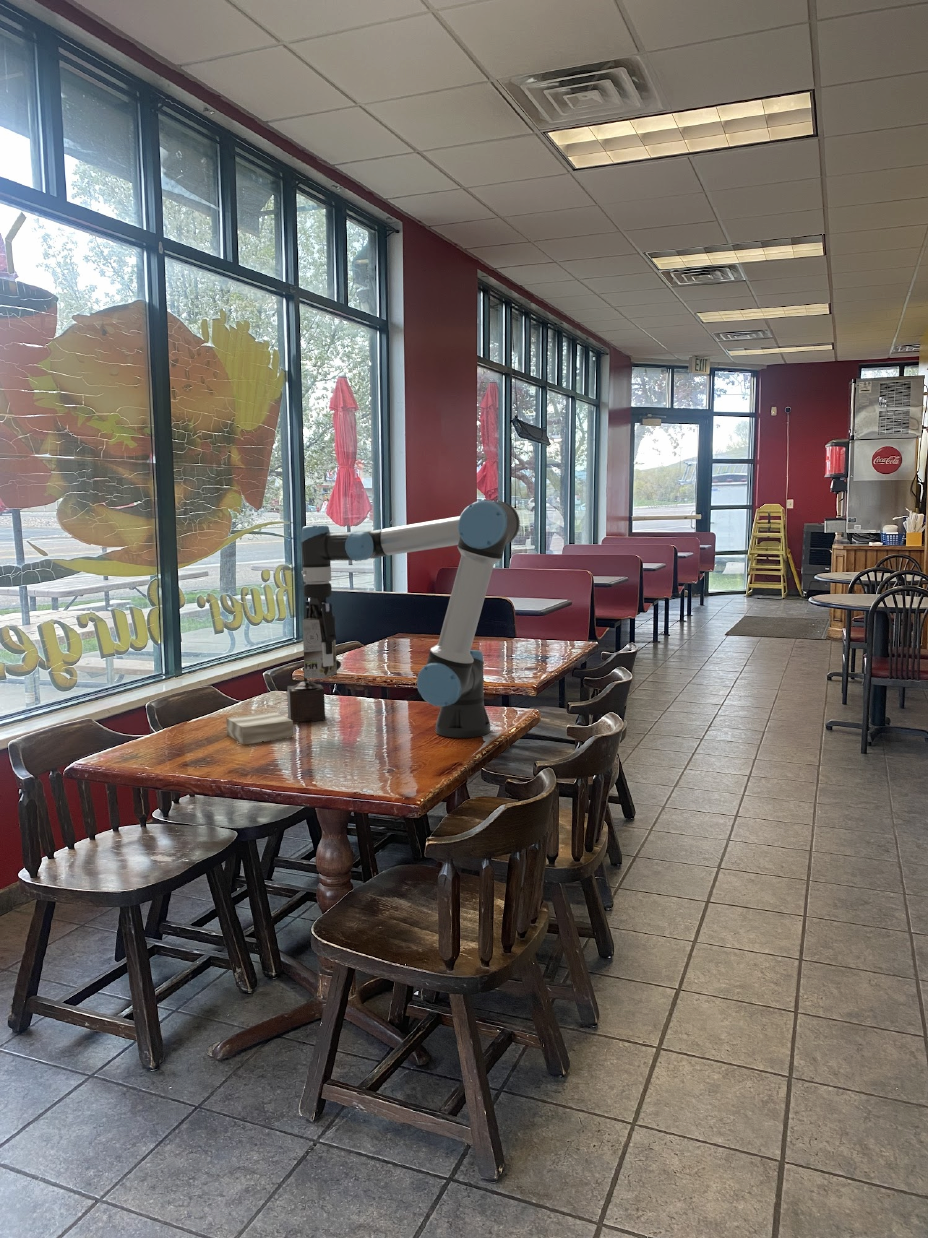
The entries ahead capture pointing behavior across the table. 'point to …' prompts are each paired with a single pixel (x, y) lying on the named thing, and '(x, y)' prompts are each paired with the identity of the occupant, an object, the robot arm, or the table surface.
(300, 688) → the coffee grinder
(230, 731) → the birch block
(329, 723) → the table surface
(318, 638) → the coffee box
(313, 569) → the robot arm
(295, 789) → the table surface
